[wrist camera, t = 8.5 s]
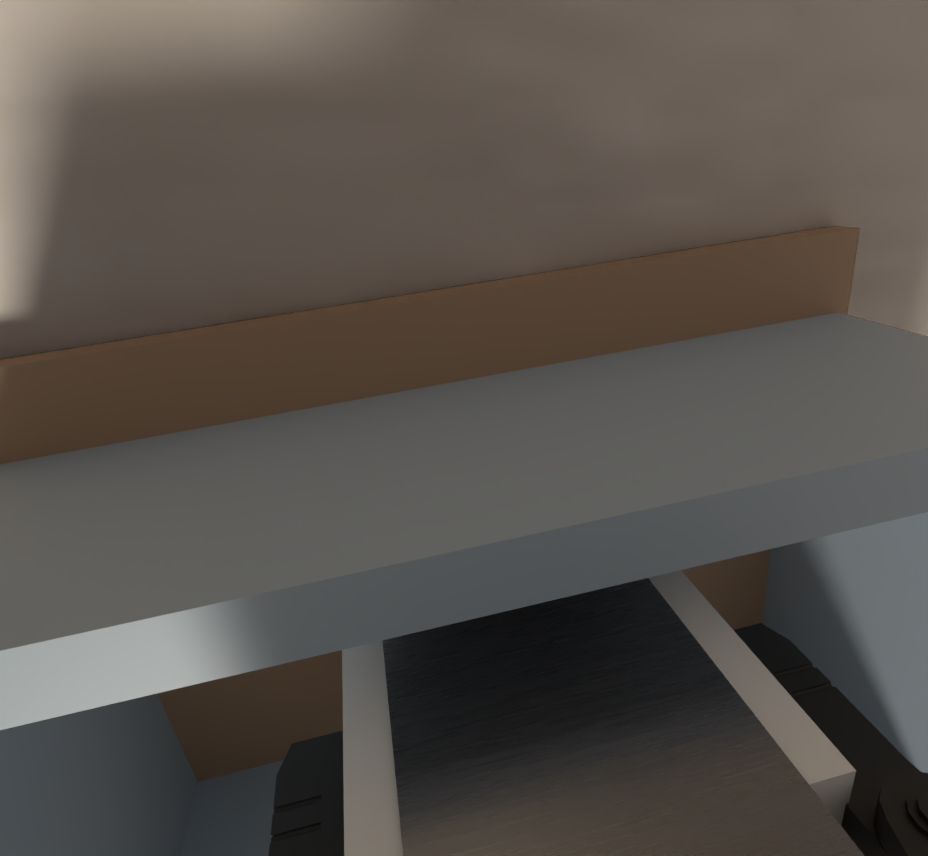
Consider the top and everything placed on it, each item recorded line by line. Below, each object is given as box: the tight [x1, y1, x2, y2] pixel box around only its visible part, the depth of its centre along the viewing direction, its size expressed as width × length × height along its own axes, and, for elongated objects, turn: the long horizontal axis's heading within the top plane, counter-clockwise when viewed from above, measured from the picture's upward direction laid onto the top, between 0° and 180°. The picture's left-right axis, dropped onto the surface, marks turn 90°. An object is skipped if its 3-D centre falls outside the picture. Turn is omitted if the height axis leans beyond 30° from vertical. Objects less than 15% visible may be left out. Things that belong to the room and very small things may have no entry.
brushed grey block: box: [382, 578, 864, 856], centre depth 10 cm, size 6×5×10 cm
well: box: [0, 226, 928, 856], centre depth 14 cm, size 16×21×7 cm
